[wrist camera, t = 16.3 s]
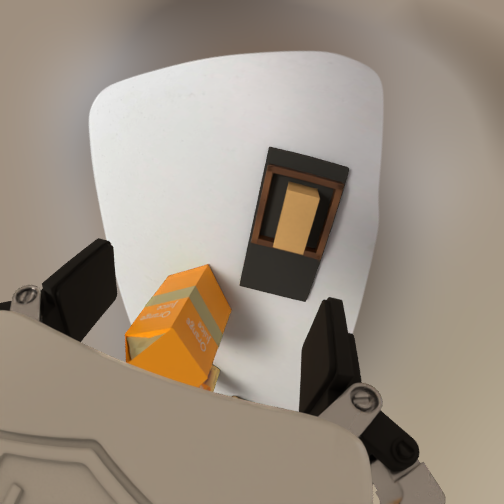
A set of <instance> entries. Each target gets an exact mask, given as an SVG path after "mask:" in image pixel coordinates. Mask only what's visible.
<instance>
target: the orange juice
mask: <svg viewBox="0 0 504 504" xmlns="http://www.w3.org/2000/svg"><path fill="white" fill-rule="evenodd" d="M230 313H231V308H230V306H229V304H228V302H227V300H226V298H225V296H224V294H223V292H222V291H221V289H220V287H219V285H218V283H217V281H216V279H215V277H214V275H213V273H212V271H211V269H210V267H209V265H208V264H207V265H204V266H201V267H197V268H194V269H190V270H187V271H183V272H180V273H177V274H173V275H170V276H168V277H167V279H166V280H165V281H164V282H163V284H162V285H161V286H160V288H159V289H158V290H157V292H156V293H155V294H154V296H153V297H152V298H151V299H150V300H149V302H148V303H147V304H146V306H145V308H144V309H143V310H142V312H141V313H140V314H139V316H138V317H137V318H136V320H135V321H134V322H133V324H132V325H131V327H130V328H129V329H128V331H127V332H126V334H125V343H126V344H125V345H126V346H125V348H126V363H129V364H131V365H134V366H136V367H139V368H141V369H144V370H147V371H149V372H152V373H155V374H158V375H161V376H163V377H166V378H169V379H172V380H175V381H178V382H181V383H185V384H188V385H191V386H194V387H199V386H200V385H201V384H202V383H203V382H204V381H205V380H207V379H208V374H209V372H210V369H211V366H212V363H213V360H214V358H215V355H216V352H217V349H218V347H219V345H220V342H221V339H222V336H223V332H224V329H225V327H226V324H227V321H228V318H229V315H230Z"/></svg>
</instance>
